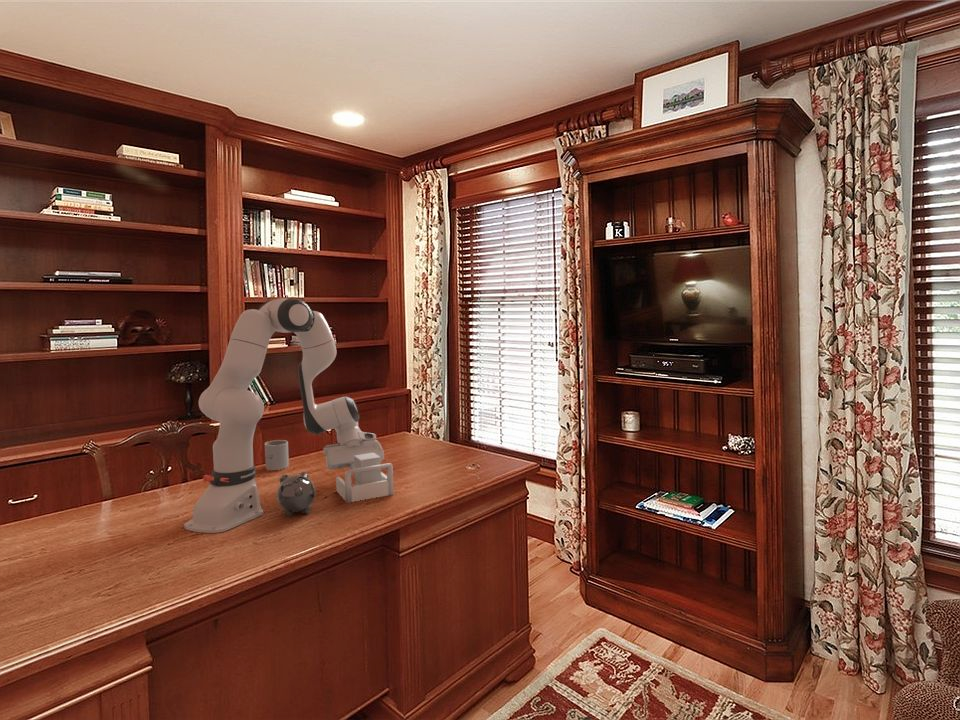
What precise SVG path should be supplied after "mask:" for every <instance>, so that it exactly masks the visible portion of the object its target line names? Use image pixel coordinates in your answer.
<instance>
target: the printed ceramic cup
mask: <svg viewBox="0 0 960 720" xmlns="http://www.w3.org/2000/svg"><path fill="white" fill-rule="evenodd" d="M289 458H290V457H289V441H288V440H285V439H282V440H281V439H276V440H270V441H266V442H264V459H265V462H264V463H265V470H266V469H267V470H266V471H269V470H278V471H280V470H279V469H283V468H286V467H288V466H289V467H290V463H289V462H290V459H289ZM289 467H288V468H289ZM286 469H287V468H286ZM283 470H284V469H283Z"/></svg>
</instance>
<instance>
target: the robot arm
mask: <svg viewBox="0 0 960 720" xmlns="http://www.w3.org/2000/svg"><path fill="white" fill-rule="evenodd" d="M274 333H294V335H296V337H297V339H298V340H299V344H300V347H301V351H302V360H301V362H300V363H298V367H297V373H298V374H297V375H298V385H299V389H300V396H301V401H302V407H303V424H304V427H305V429H306V430H307V432H309V433H311V434H314V435H321V434H323V433H325V432H327V431H329V430H330V431H331V430H333V429H334V430H335V432H336V440H337V443H332V444H326V445H325V446H324V447H323V448H322V451H323V455H324V456H325V464H326V468H327V470H329V471H333V470H338V469H345V468H349V469H354V456H355V455H361V454H367V453H375V454H377V455H378V456H380V457H381V463H382V462H383V460H384V457H385V452H384V449H383V447H382V444H381V443H380V441H378V440H377V434H375V433H371V432H365V431H362V430H361V428H360V427H359V420H360V414H359V410H358V407H357V403H356V401H355V400H354V399H353V398H351V397H349V396H342V397H337V398H335V399H332V400H330V401H329V400H328V401H327V402H322V403H319V404H316V403H315V398H314V390H313V385H312V384H313V381H314V380H315V378H316V377H317V376H318V375H319V374H320V373H322V372H323V371H325V370H326V369H328V367H330V366H331V364H332V363H333V362H334V361H335V359H336V358H337V357H336V356H337V353H338V352H337V347H336V341H335V338H334V336H333V333H332V330H331V328H330V326H329V324H328V322H327V320H326V318H325V316H324V315H323V314H322V313H321V312H319V311H317V310H316V311H315V310H312V309H311V308H310V306H309V305H308V304H307V303H306V302H305V301H303V300H301V299H299V298H298V299H297V298H292V297H291V298H285V297H280V298H275V299H271V300H267V301H265V302H264V303H262V304H260V306H259V307H258V308H257V309H254V308H252V309H246V310H244V311H243V312H242V313H241V314H240V315H239V316H238V319H237V321H236V323H235V325H234V328H233V330H232V332H231V334H230V338H229V342H228V344H227V348H226V351H225V354H224V357H223V360H222V362H221V365H220V367H219V369H218V371H217V372H216V374H215V376H214V378H213V380H212V381H211V382H210V385H209V386H208V387H207V388H206V389H204V391H203V392H202V393H201V394H200V396H199V399H198V408H199V410H200V411H201V413H202V414H204V415H205V417H207V418H208V419H211V420H212V421H216V422H219V423H218V424H219V429H218V435H217V437H216V440H214V442H213V444H212V457H213V458H212V460H213V461H212V462H213V469H212V472H211V474H209V475H208V474H204V476H203V477H202V481H203V483H204V482H205V483H207V482H208V483H209V485H208V486H207V488H206V489H205V491H204V492H203V493H202V495H201V496H200V497H199V498H198V500H197V501H196V502H195V504H194V505H193V510H192V518H191V519H189V520H188V521H186V522H185V523H184V524H183V528H184V529H185V530H186V531H191V532H194V533H195V532H196V533H204V534H205V533H206V534H212V533H213V534H215V533H222V532H223V533H224V532H227V531H229V530H230V529H233V528H235V527H237V526H241V525H243V524H245V523H247V522H249V521H252V520H254V519H256V518H258V517H260V516H263V515H264V509H262V507H261V501H260V494H259V488H258V486H257V483H256V471H257V470H256V465H255V464H254V450H253V449H254V447H253V445H254V435H255V432H256V427H257V424H258V422H259V421H260V420H261V419H262V417H263V415H264V412H265V403H264V401H263V399H262V398H261V397H260V396H259V395H258V394H256V393H254V392H252V391H251V390H248V389H249V387H250V385H251V384H252V382H253V381H254V379H255V378H256V377H258V376H259V375H260V373H261V372H262V368H263V366H264V363H265V359H266V355H267V352H268V351H267V350H268V348H269V345H270V344H269V343H270V339H271V338H272V336H273V334H274Z"/></svg>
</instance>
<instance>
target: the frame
mask: <svg viewBox="0 0 960 720" xmlns="http://www.w3.org/2000/svg"><path fill="white" fill-rule="evenodd" d="M393 468H394V467H393V463H392V462H389V463H388V462H387V463H383V464H382V463H381V464H380V465H374V466H368V467H361V468H355V469H350V468H349V469H347V471H344V479H343V478H342V477H341V476H340V475H339V476H335V482H336V483H335V487H336V488H335V489H336V492H337V493H338V494H339V496H340V497H341V496H342V497H343V498H342V497H341V498H342V499H343V500H344V501H345V503H346V504H352V503H355V501H356V502H360V500H361V501H365V499H366V500H370V499H371V498H372V499H377V498H381V497H388V496H393V495H394V469H393ZM380 469H381V470H386V474H385V473H384V472H382V471H381V481H377V482H372V483H366V484H360V485H355V484H354V485H352V475H354V474H355V473H361V472H368V471H374V470H380ZM376 497H377V498H376ZM372 499H371V500H372ZM351 502H352V503H351Z"/></svg>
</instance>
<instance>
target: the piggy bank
mask: <svg viewBox="0 0 960 720" xmlns="http://www.w3.org/2000/svg"><path fill="white" fill-rule="evenodd" d="M309 476H310V475H309V473H307V472H306V471H301V472H300V474H292V475H288V474H282V475H280V477H279V481H278V482H279V483H280V484H279V486H278V488H277V490H276V499H277V502H278V504H279V505H280V507H281V508H282V509H283V510H284V511H285V512H284V513H285V514H284V515H285V517H287V518H291V517H292V516H293V514H294V513H301V512H303V514H305V515H308V514H310V513H311V505H312V504H313V503H314V500H315V497H316V487H315V485H314V483H313V482H312V480H311V479H310V477H309Z"/></svg>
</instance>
